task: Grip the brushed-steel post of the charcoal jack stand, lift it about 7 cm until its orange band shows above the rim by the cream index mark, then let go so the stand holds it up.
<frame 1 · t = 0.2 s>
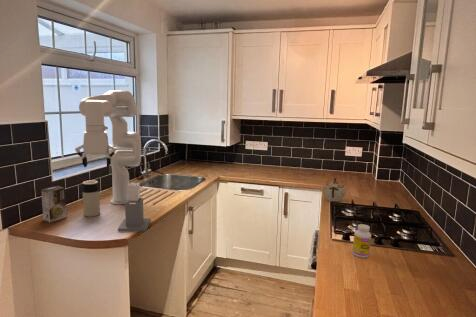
hand: (97, 166, 144), 31 cm above the worktop, fingers open, 9 cm apart
travel mug: (91, 214, 170), on the worktop
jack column: (134, 203, 154), point 12 cm above the worktop, slide at 0.0 cm
supplement bottle: (360, 255, 135), on the worktop
coffee box: (55, 219, 163), on the worktop
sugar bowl: (333, 200, 210), on the worktop
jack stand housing: (134, 226, 156), on the worktop
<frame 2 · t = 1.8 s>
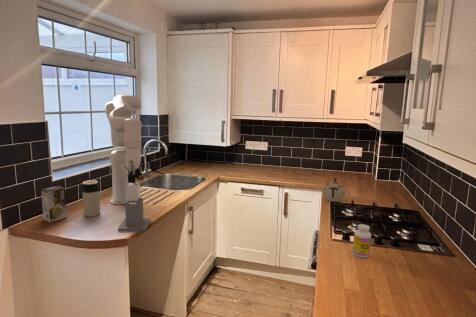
hand: (134, 180, 152), 23 cm above the worktop, fingers open, 9 cm apart
nothing on the worktop moved.
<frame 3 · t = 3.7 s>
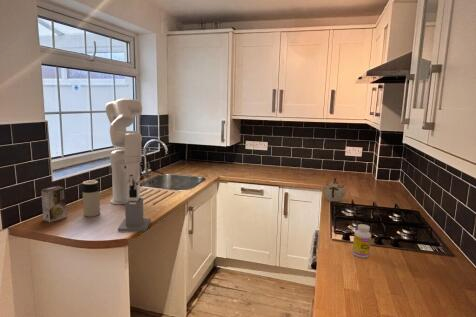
hand: (134, 195, 154), 16 cm above the worktop, fingers closed on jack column, 4 cm apart
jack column: (134, 203, 154), point 12 cm above the worktop, slide at 0.0 cm, touching gripper
everything else where it was.
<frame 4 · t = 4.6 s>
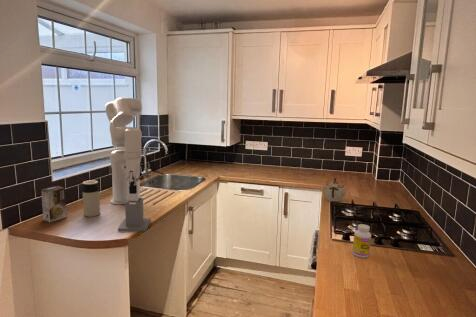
hand: (134, 191, 153), 18 cm above the worktop, fingers closed on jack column, 4 cm apart
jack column: (134, 200, 154), point 13 cm above the worktop, slide at 1.9 cm, touching gripper
everything else where it was.
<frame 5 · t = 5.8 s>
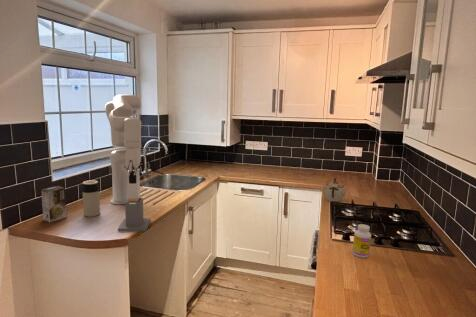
hand: (133, 181, 152), 23 cm above the worktop, fingers closed on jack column, 4 cm apart
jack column: (134, 190, 153), point 18 cm above the worktop, slide at 6.9 cm, touching gripper
everything else where it was.
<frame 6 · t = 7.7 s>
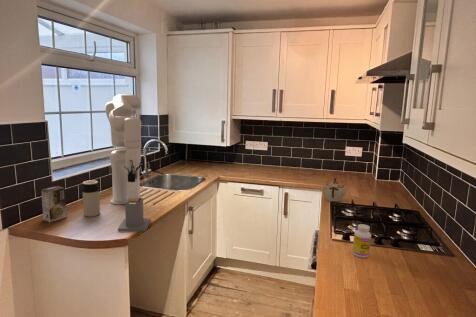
hand: (133, 179, 152), 24 cm above the worktop, fingers open, 9 cm apart
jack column: (134, 190, 153), point 19 cm above the worktop, slide at 6.9 cm
everything else where it was.
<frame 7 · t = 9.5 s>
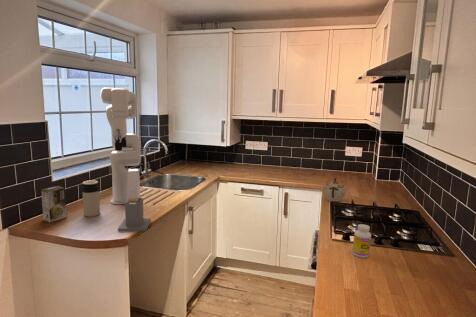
hand: (120, 148, 159), 37 cm above the worktop, fingers open, 9 cm apart
nothing on the worktop moved.
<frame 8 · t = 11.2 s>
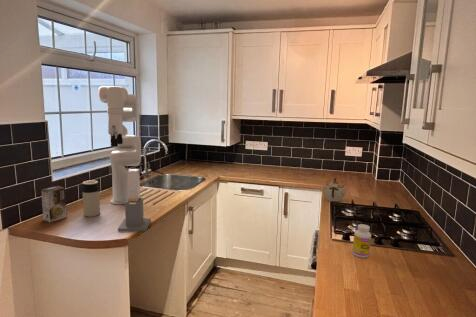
hand: (116, 145, 162), 38 cm above the worktop, fingers open, 9 cm apart
nothing on the worktop moved.
at the end: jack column slide at 6.9 cm; the gripper is holding nothing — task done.
